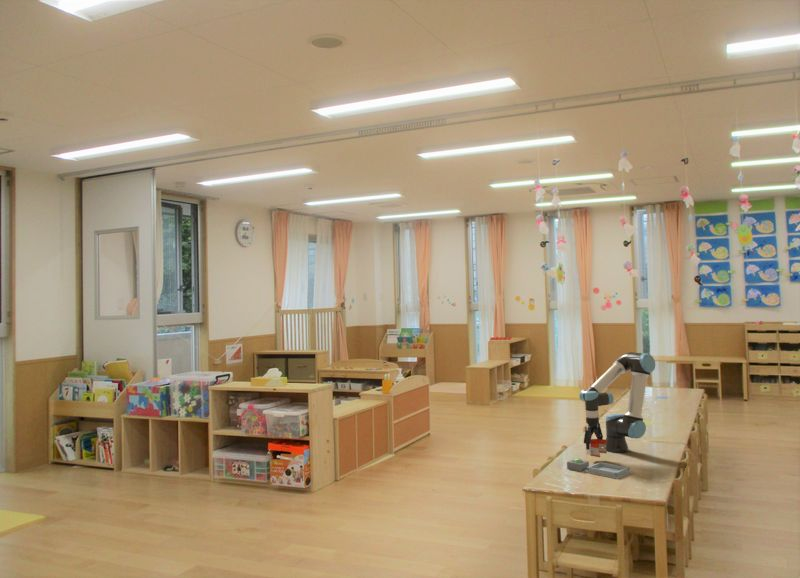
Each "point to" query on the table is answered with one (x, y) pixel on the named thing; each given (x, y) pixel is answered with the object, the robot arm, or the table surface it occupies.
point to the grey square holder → (577, 465)
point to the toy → (597, 447)
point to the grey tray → (608, 470)
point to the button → (578, 460)
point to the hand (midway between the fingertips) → (594, 452)
